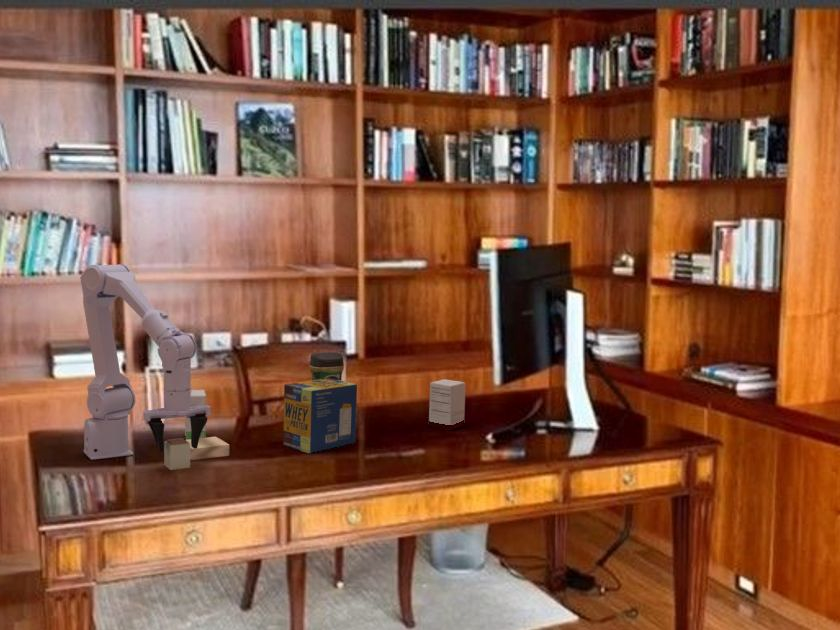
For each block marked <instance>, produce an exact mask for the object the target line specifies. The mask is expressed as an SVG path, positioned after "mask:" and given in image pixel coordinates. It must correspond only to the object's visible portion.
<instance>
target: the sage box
mask: <svg viewBox="0 0 840 630" xmlns="http://www.w3.org/2000/svg"><path fill="white" fill-rule="evenodd" d="M163 447H164V449H163V453H164V454H163V455H164V458H163V460H164V461H163V463H164V464H163V466H164V467H166V468H167V469H168V470H170V471H173V470H182V469H190V468H191V459H190V443H189V442H188V441H186V438H183V437H181V438H180V437H179V438H171V439H170V438H169V439H166V440H165V441H164V440H163Z"/></svg>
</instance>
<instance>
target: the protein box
mask: <svg viewBox="0 0 840 630" xmlns="http://www.w3.org/2000/svg"><path fill="white" fill-rule="evenodd" d="M283 387H284V389H283V391H284V393H283V446H285V447H287V448H291V449H293V450H297V451H300V452H303V453H307V454H309V453H310V454H314V453H313V452H315V453H318V452H317V451H320V452H322V451H321V450H325V449H329V450H331V449H330V448H334V447H338V448H340V447H339V446H343V445H346V444H350V443H353V442H355V443H356V439H357V436H356V435H357V433H356V432H357V405H358V404H357V401H358V400H357V398H358V395H357V394H358V384H357V383H353V382H349V381H345V380H344V381H343V380H342V379H341V380H337V379H332V378H326V379H320V380H313V381H312V380H308V381H307V380H306V381H299V382H294V383H286V384H284V385H283ZM343 447H344V446H343ZM334 449H335V448H334ZM325 451H326V450H325Z"/></svg>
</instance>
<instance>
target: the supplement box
mask: <svg viewBox="0 0 840 630" xmlns="http://www.w3.org/2000/svg"><path fill="white" fill-rule="evenodd" d="M465 404H466V382H464V381H458V380H451V379H446V378H444V379H443V378H442V379H440V380H436V381H432V382H429V409H428V410H429V411H428V412H429V413H428V422H429V421H430V422H434V423H439V424H445V425H454V424H456V423H459V422H461V421H463V420H464V421H465V413H466V412H465V411H466V410H465V409H466V408H465Z"/></svg>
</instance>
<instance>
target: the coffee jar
mask: <svg viewBox="0 0 840 630" xmlns="http://www.w3.org/2000/svg"><path fill="white" fill-rule="evenodd" d="M309 359H310V360H309V370H310V373H311V381H313V380H320V379H326V378H332V379H337V380H341V381H342V374H343V372H344V368H345V363H344V356H343V354H342V353H340V352H333V351H332V352H318V353H317V352H315V353H311V355H310V358H309Z"/></svg>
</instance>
